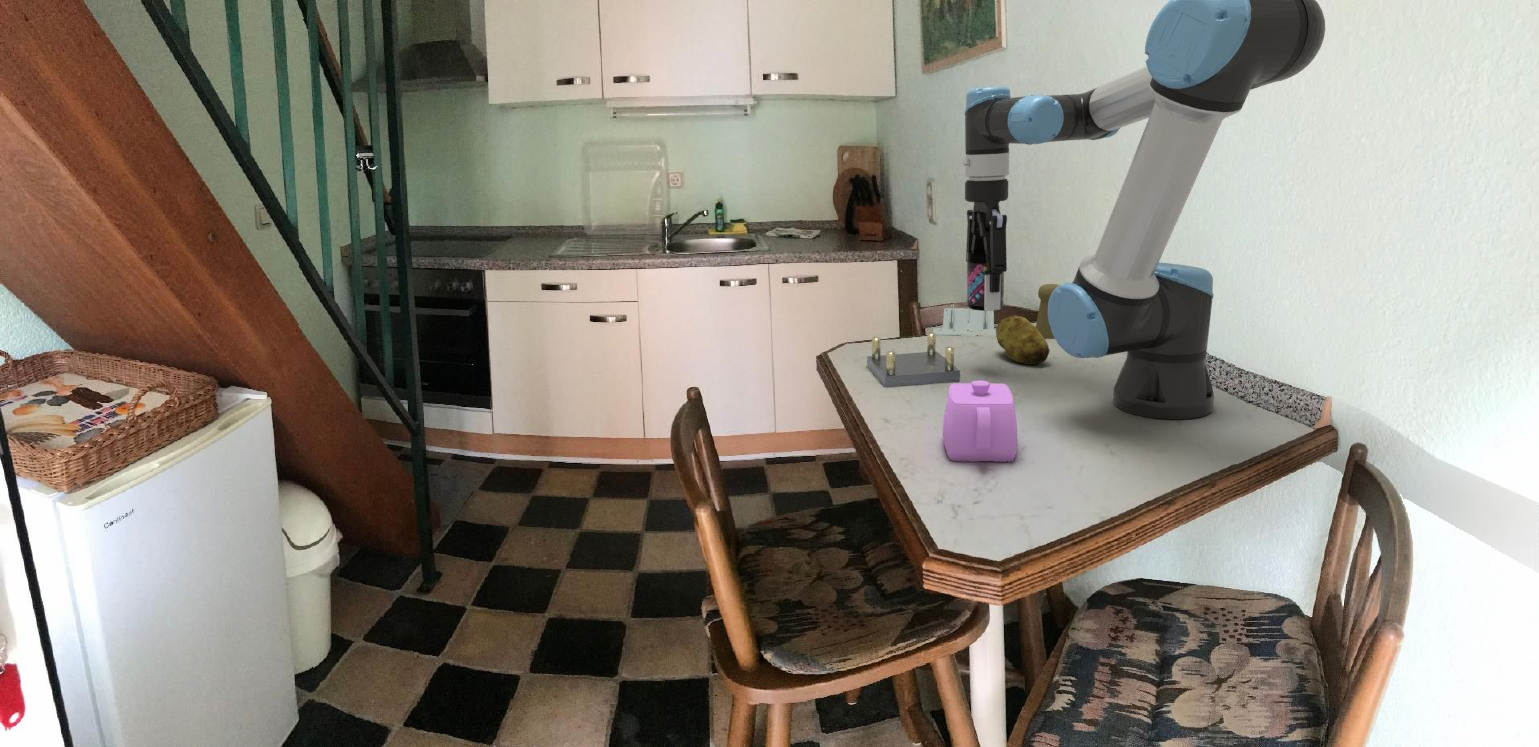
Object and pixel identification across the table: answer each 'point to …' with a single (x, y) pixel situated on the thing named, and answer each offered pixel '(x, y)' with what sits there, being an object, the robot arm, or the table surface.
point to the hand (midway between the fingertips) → (984, 305)
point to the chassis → (913, 365)
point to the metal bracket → (965, 322)
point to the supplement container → (978, 280)
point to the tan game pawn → (1045, 310)
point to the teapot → (980, 422)
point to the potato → (1021, 340)
